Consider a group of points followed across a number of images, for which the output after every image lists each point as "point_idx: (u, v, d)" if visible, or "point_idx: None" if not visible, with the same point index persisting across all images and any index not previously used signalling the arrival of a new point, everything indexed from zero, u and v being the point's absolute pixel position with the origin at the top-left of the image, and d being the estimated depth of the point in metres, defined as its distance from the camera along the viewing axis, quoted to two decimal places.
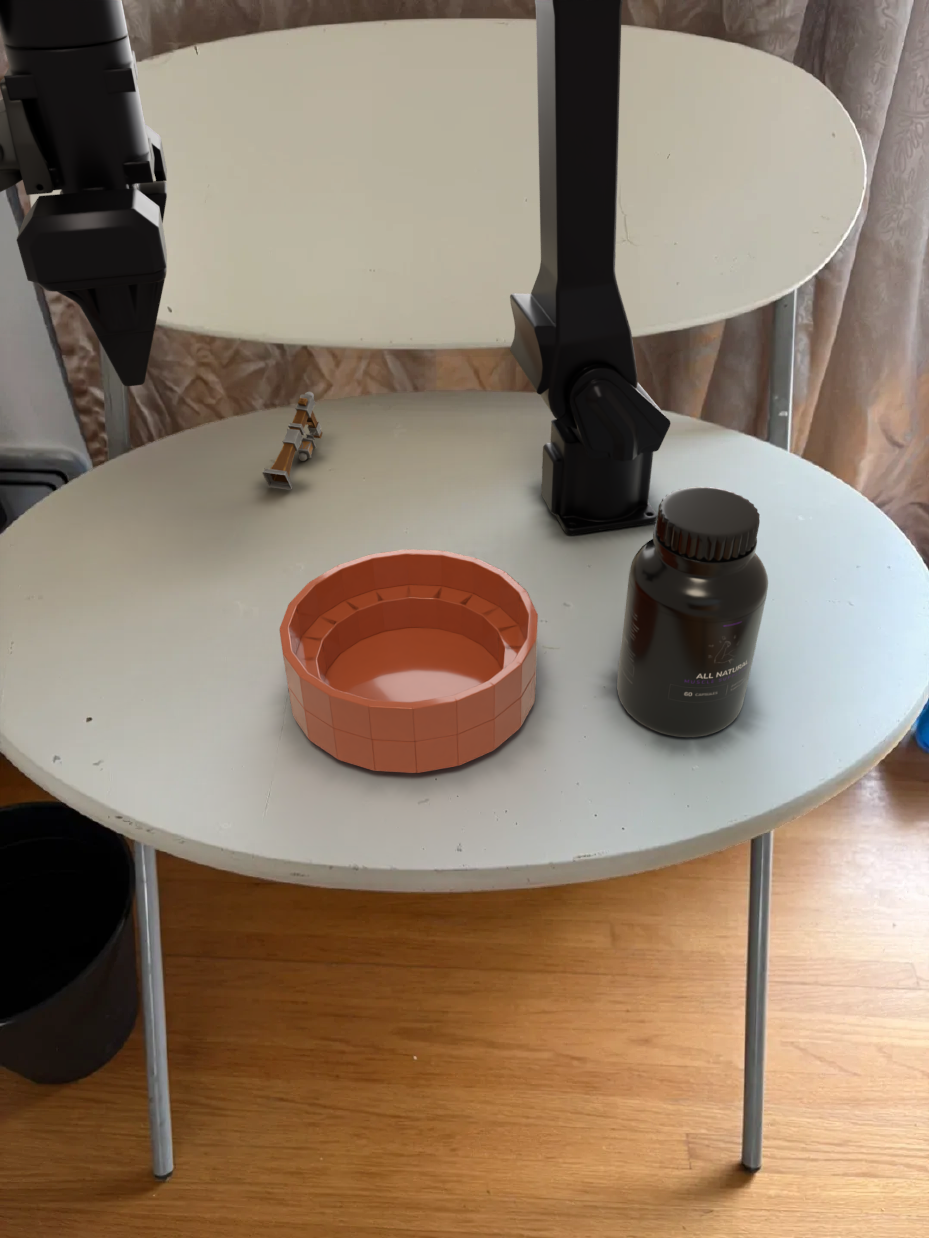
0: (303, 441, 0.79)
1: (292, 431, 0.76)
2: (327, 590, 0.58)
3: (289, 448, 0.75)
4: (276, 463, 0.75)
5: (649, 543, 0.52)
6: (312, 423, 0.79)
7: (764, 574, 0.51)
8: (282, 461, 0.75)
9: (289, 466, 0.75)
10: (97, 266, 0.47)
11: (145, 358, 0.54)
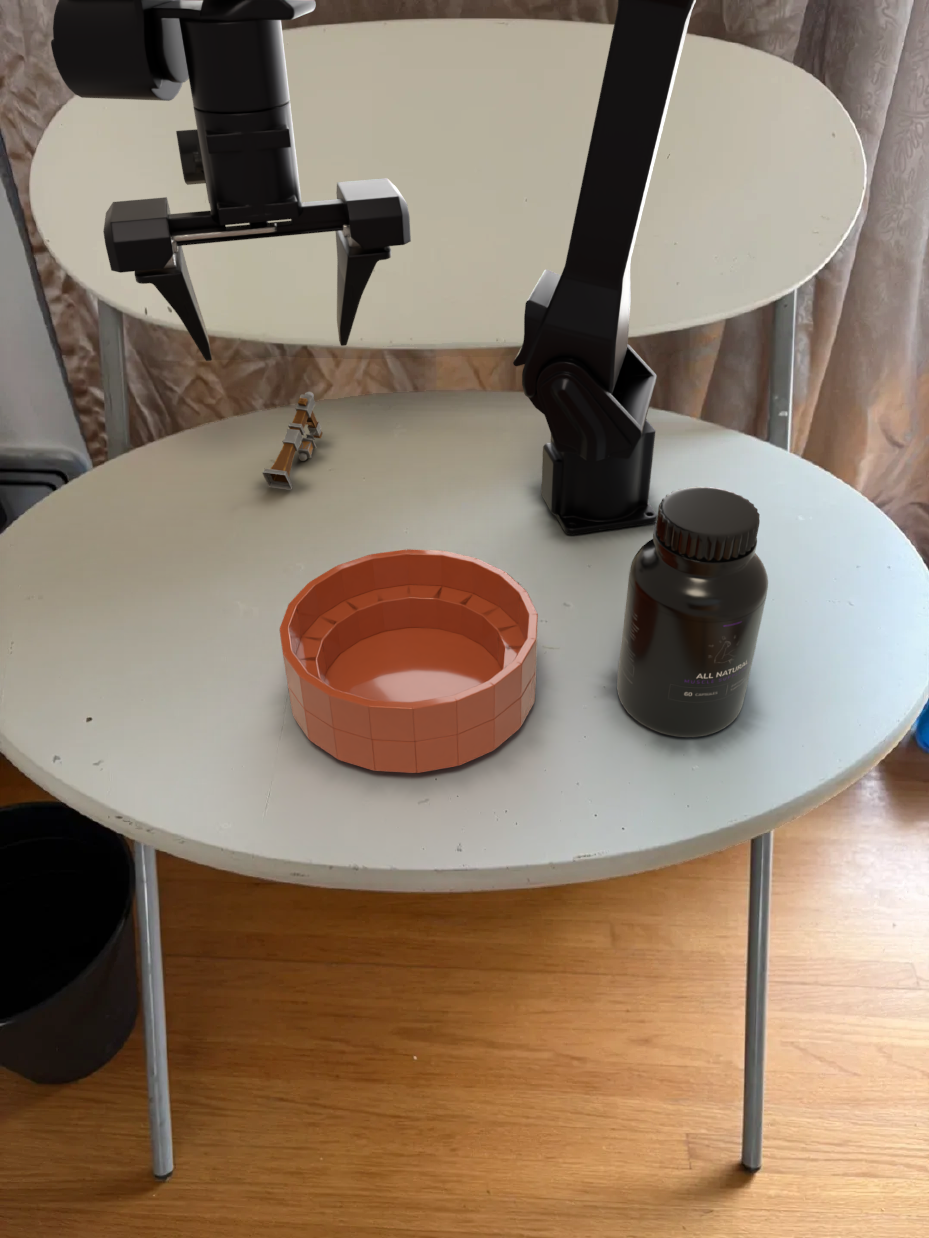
0: (303, 441, 0.79)
1: (292, 431, 0.76)
2: (327, 590, 0.58)
3: (289, 448, 0.75)
4: (276, 463, 0.75)
5: (649, 543, 0.52)
6: (312, 423, 0.79)
7: (764, 574, 0.51)
8: (282, 461, 0.75)
9: (289, 466, 0.75)
10: None
11: (195, 342, 0.69)
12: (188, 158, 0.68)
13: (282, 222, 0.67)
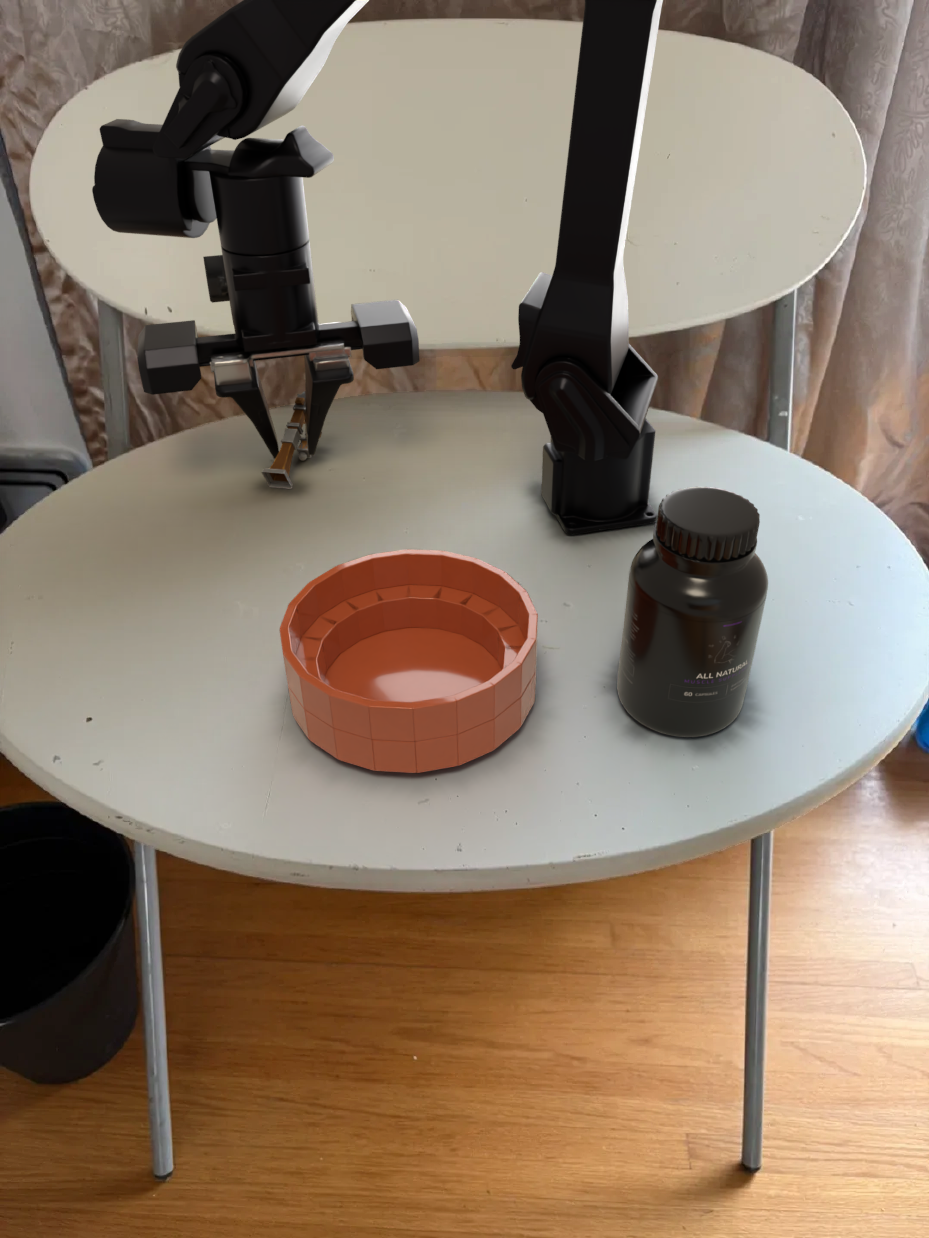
0: (302, 441, 0.79)
1: (290, 430, 0.76)
2: (327, 590, 0.58)
3: (288, 447, 0.75)
4: (275, 463, 0.75)
5: (649, 543, 0.52)
6: None
7: (764, 574, 0.51)
8: (281, 460, 0.75)
9: (288, 465, 0.75)
10: None
11: None
12: (214, 282, 0.73)
13: None
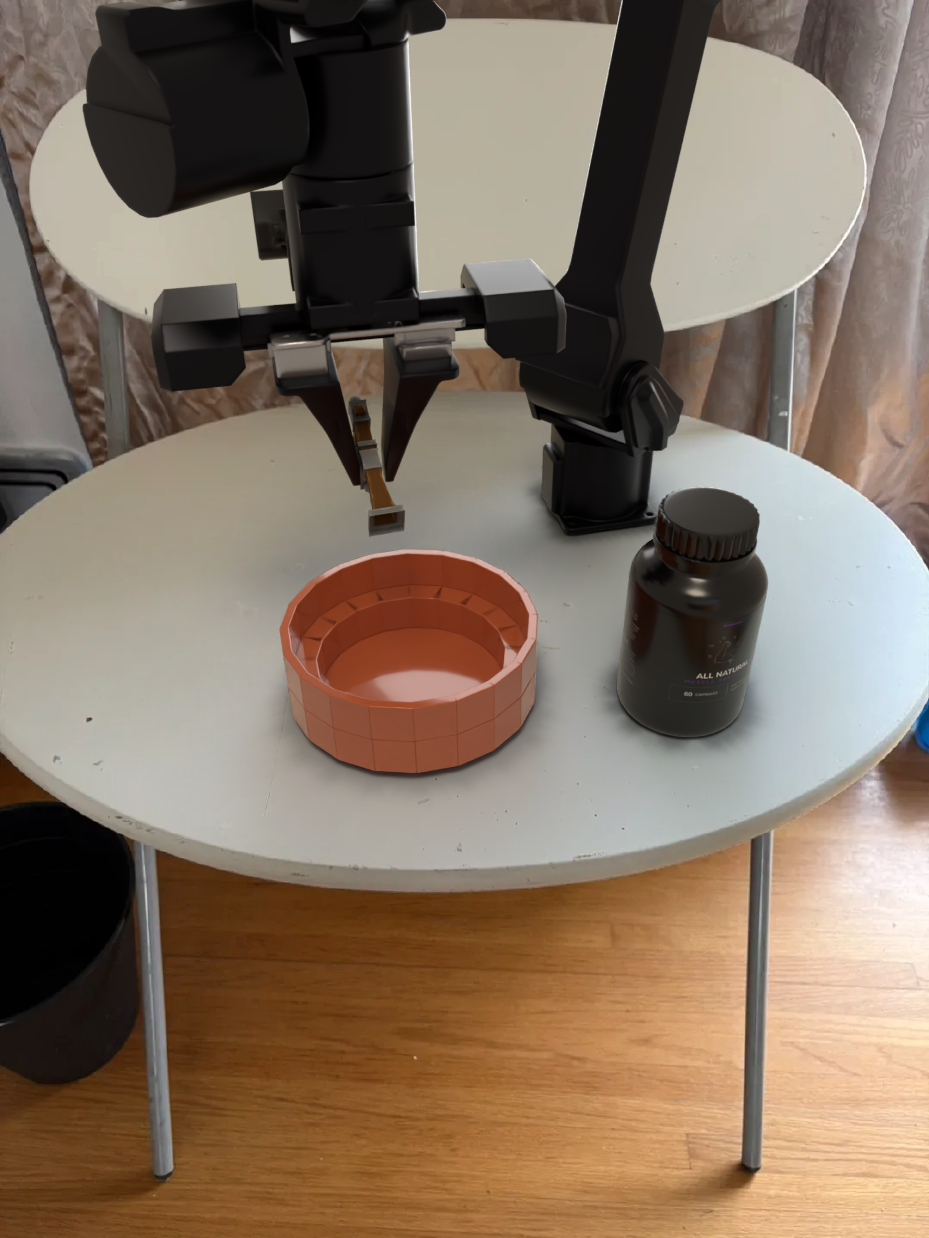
0: (361, 466, 0.55)
1: (368, 452, 0.53)
2: (327, 590, 0.58)
3: (378, 475, 0.52)
4: (375, 500, 0.51)
5: (649, 543, 0.52)
6: None
7: (764, 574, 0.51)
8: (382, 494, 0.52)
9: None
10: None
11: (342, 463, 0.52)
12: (265, 229, 0.50)
13: None
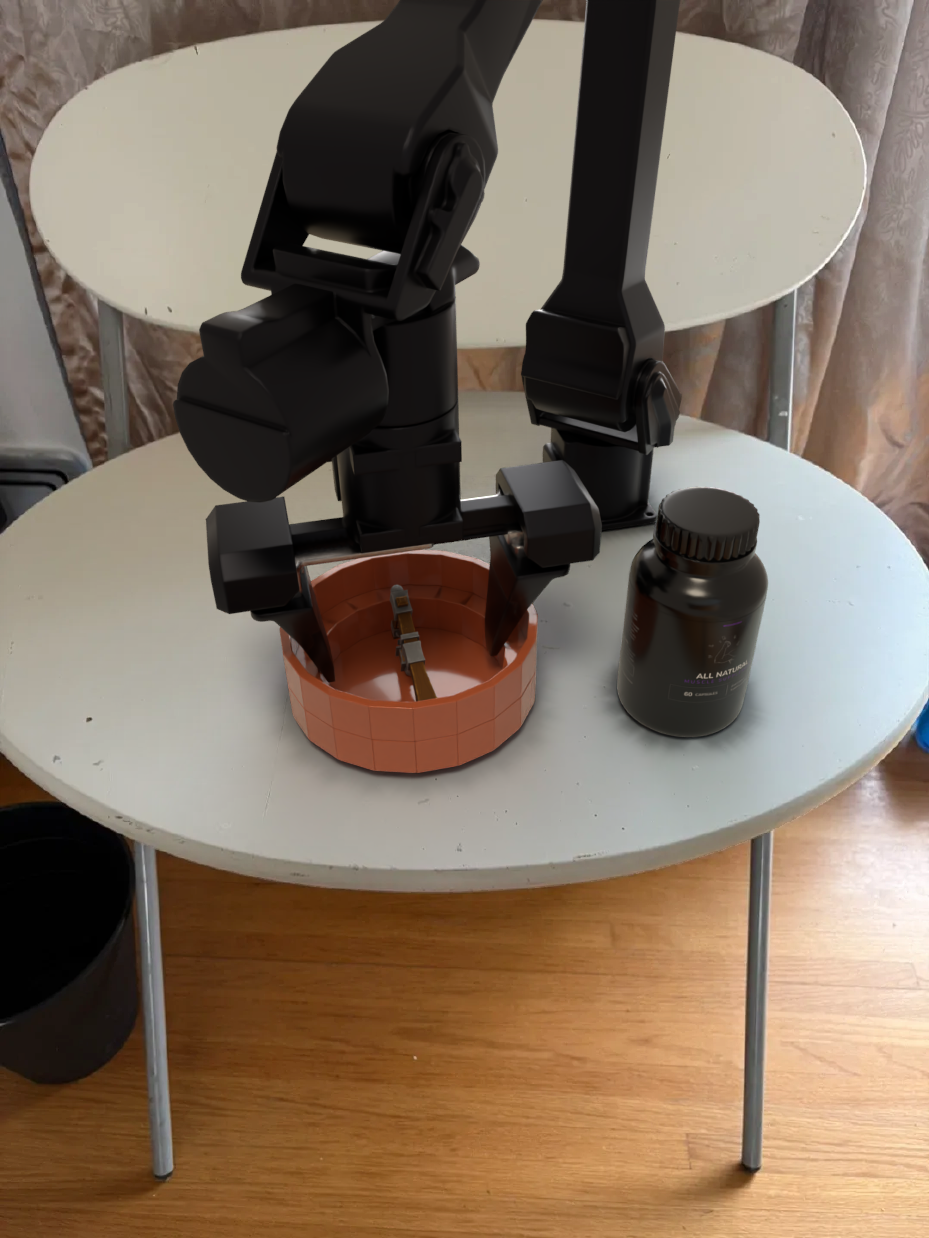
0: (401, 650, 0.58)
1: (412, 645, 0.55)
2: (327, 590, 0.58)
3: (422, 669, 0.55)
4: (420, 695, 0.54)
5: (649, 543, 0.52)
6: None
7: (764, 574, 0.51)
8: (426, 689, 0.54)
9: None
10: None
11: None
12: None
13: None
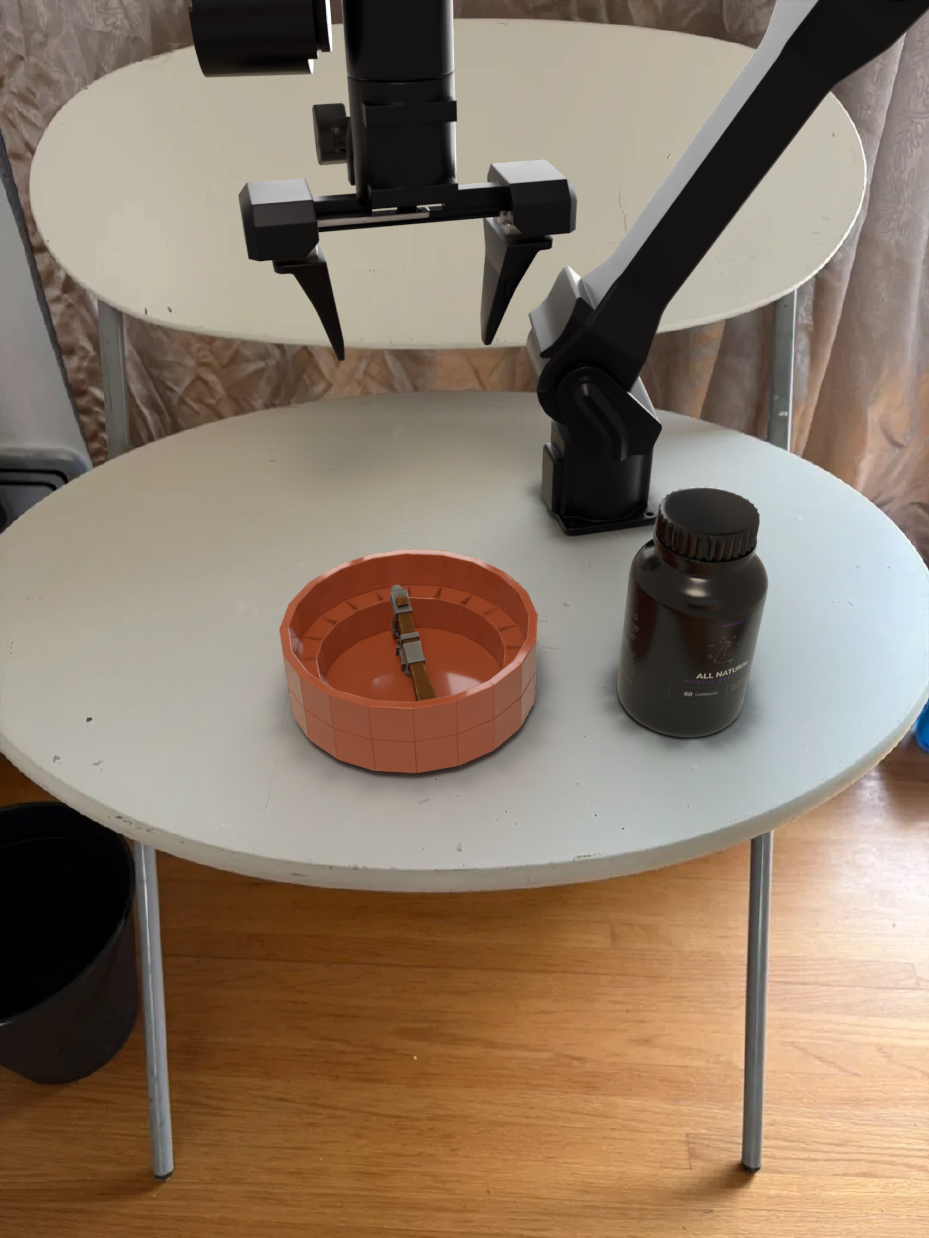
0: (401, 650, 0.58)
1: (412, 645, 0.55)
2: (327, 590, 0.58)
3: (422, 669, 0.55)
4: (420, 695, 0.54)
5: (649, 543, 0.52)
6: None
7: (764, 574, 0.51)
8: (426, 689, 0.54)
9: None
10: (244, 235, 0.58)
11: None
12: (327, 135, 0.61)
13: (432, 207, 0.60)
